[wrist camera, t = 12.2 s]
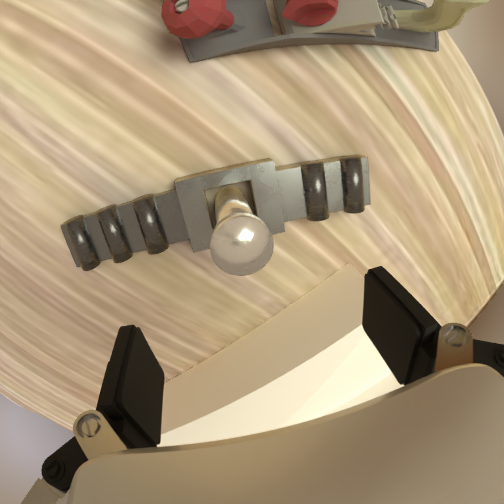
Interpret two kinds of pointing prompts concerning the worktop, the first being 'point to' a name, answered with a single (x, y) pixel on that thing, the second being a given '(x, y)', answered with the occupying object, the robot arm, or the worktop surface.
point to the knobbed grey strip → (197, 211)
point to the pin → (239, 235)
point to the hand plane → (308, 23)
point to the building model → (281, 370)
